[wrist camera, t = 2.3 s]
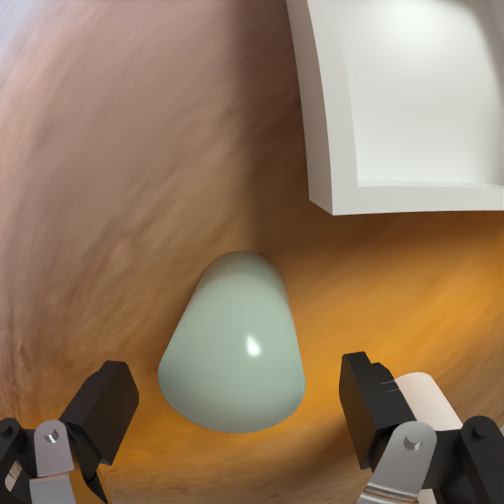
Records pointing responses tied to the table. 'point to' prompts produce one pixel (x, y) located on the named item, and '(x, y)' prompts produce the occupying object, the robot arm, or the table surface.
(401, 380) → the cylindrical container
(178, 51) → the table surface
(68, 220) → the table surface
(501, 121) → the grey tub
